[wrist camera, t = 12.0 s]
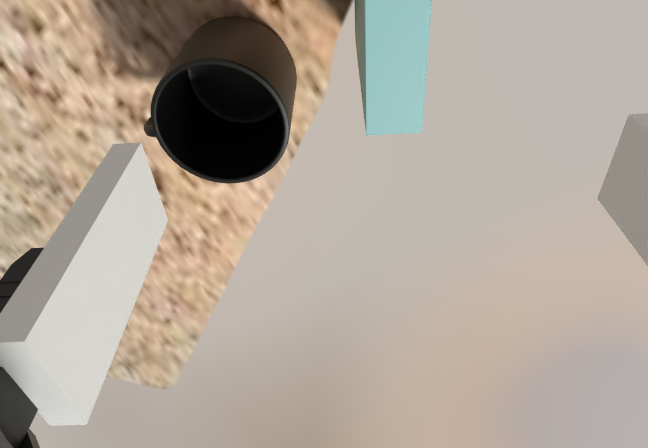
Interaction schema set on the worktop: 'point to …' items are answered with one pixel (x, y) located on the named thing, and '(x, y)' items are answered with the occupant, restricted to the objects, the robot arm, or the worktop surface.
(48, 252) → the robot arm
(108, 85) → the worktop surface
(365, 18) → the teal flat block
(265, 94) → the mug
